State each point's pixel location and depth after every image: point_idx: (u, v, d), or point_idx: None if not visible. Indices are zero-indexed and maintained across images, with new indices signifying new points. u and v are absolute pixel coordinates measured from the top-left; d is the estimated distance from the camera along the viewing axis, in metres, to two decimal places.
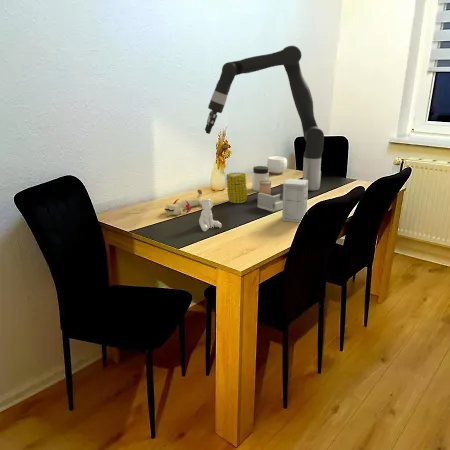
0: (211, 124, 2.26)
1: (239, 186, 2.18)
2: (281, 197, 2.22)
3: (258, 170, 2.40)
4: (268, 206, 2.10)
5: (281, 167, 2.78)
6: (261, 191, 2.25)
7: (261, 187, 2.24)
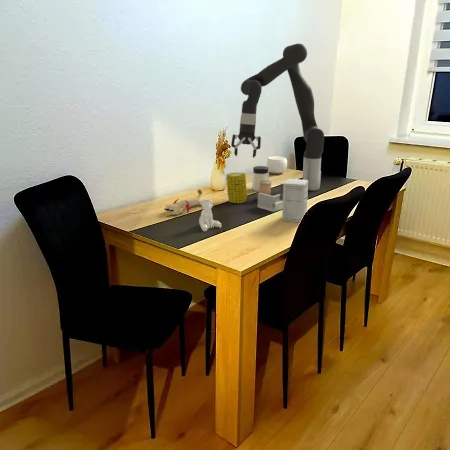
0: None
1: (239, 186, 2.18)
2: (281, 197, 2.22)
3: (258, 170, 2.40)
4: (268, 206, 2.10)
5: (281, 167, 2.78)
6: (261, 191, 2.25)
7: (261, 187, 2.24)
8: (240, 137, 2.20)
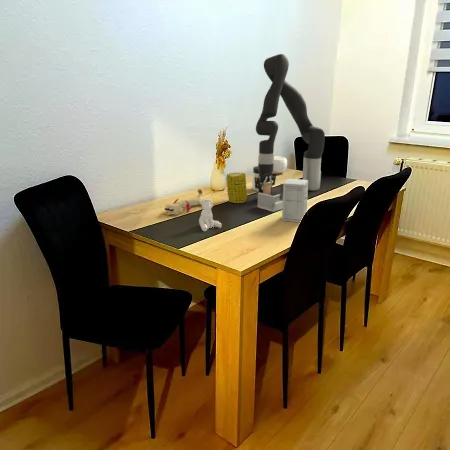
0: None
1: (239, 186, 2.18)
2: (281, 197, 2.22)
3: None
4: (268, 206, 2.10)
5: (281, 167, 2.78)
6: None
7: None
8: (262, 178, 2.22)
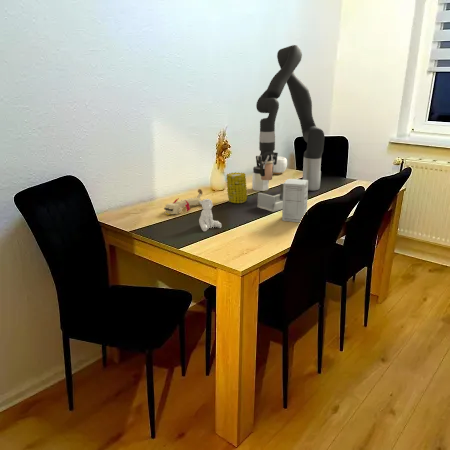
0: None
1: (239, 186, 2.18)
2: (281, 197, 2.22)
3: (258, 170, 2.40)
4: (268, 206, 2.10)
5: (281, 167, 2.78)
6: None
7: None
8: (264, 157, 2.18)
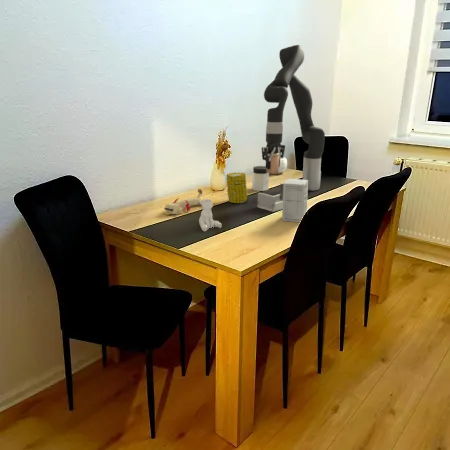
0: None
1: (239, 186, 2.18)
2: (281, 197, 2.22)
3: (258, 170, 2.40)
4: (268, 206, 2.10)
5: (281, 167, 2.78)
6: None
7: None
8: (270, 148, 2.08)
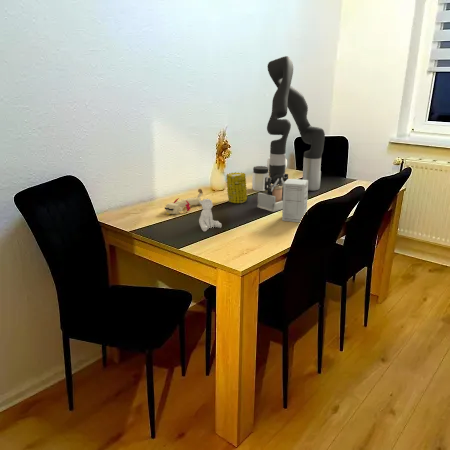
0: None
1: (239, 186, 2.18)
2: None
3: (258, 170, 2.40)
4: (268, 206, 2.10)
5: None
6: None
7: None
8: (274, 179, 2.09)
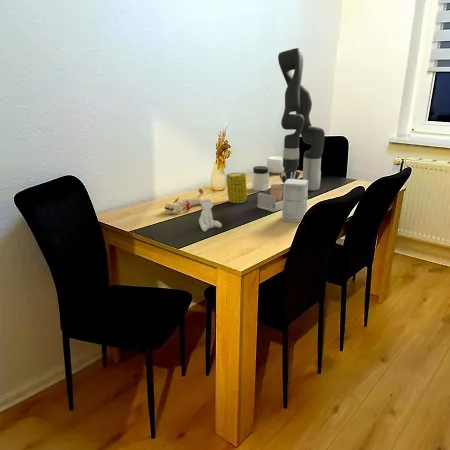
0: None
1: (239, 186, 2.18)
2: None
3: (258, 170, 2.40)
4: (268, 206, 2.10)
5: (281, 167, 2.78)
6: None
7: (273, 191, 2.12)
8: (288, 175, 2.15)
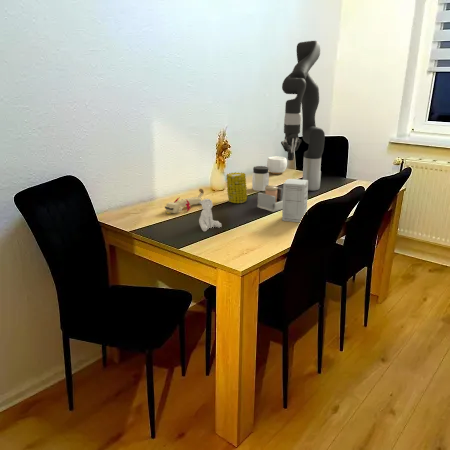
0: None
1: (239, 186, 2.18)
2: None
3: (258, 170, 2.40)
4: (268, 206, 2.10)
5: (281, 167, 2.78)
6: None
7: (267, 193, 2.10)
8: (289, 141, 2.10)
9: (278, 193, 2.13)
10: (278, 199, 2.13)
